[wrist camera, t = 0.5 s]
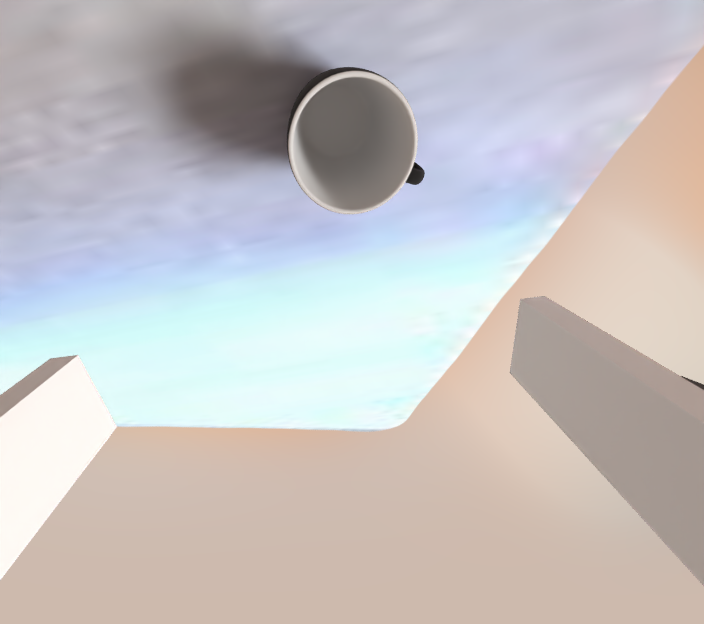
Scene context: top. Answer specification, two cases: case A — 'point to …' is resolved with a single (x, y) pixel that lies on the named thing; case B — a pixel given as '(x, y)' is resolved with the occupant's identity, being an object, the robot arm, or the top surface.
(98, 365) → the top surface
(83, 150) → the top surface
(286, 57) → the top surface
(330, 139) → the mug
